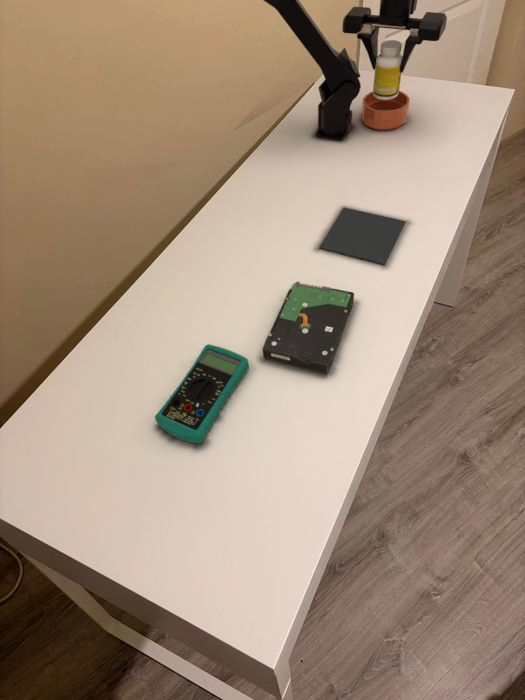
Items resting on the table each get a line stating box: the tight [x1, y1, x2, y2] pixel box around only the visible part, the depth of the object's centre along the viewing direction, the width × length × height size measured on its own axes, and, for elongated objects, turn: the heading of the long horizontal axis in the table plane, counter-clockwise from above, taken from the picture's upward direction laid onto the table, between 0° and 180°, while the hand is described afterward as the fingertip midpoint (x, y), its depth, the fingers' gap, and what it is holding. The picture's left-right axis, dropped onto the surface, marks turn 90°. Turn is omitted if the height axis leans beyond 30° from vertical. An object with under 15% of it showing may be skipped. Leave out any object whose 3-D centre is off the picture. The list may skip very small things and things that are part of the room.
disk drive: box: [262, 281, 355, 375], centre depth 76 cm, size 10×3×15 cm
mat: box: [318, 206, 406, 266], centre depth 89 cm, size 12×12×1 cm
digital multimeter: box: [154, 344, 250, 444], centre depth 70 cm, size 7×15×3 cm, turn 152°
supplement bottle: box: [372, 39, 403, 100], centre depth 101 cm, size 5×5×10 cm
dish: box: [361, 90, 410, 131], centre depth 110 cm, size 10×10×4 cm
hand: (388, 70), depth 101 cm, fingers closed on supplement bottle, 5 cm apart
